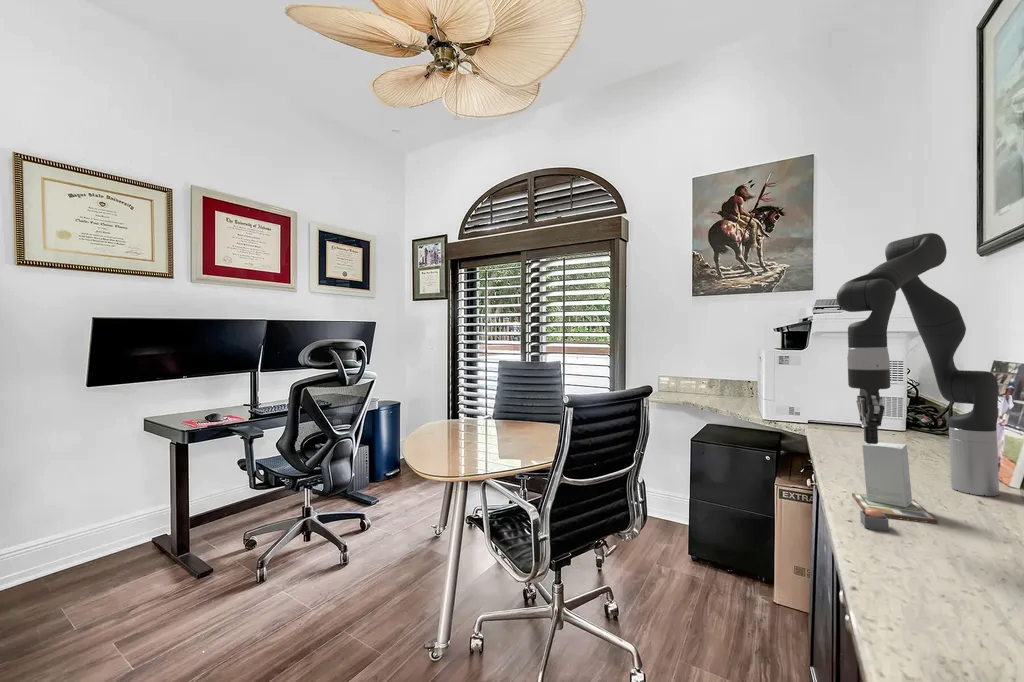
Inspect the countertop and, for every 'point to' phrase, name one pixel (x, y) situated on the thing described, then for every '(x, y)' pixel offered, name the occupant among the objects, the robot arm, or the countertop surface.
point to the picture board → (896, 509)
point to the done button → (873, 513)
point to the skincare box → (887, 473)
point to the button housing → (874, 522)
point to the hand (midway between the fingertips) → (871, 443)
